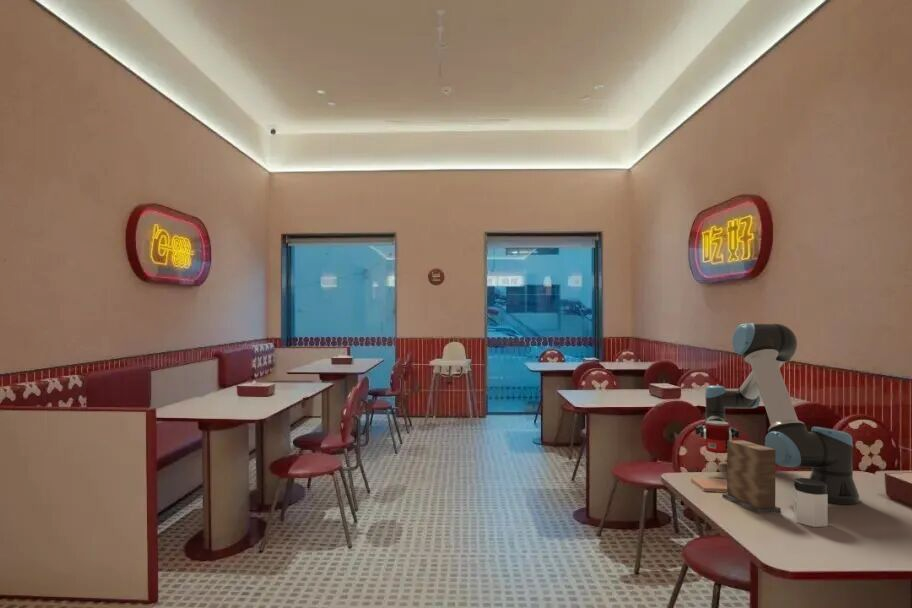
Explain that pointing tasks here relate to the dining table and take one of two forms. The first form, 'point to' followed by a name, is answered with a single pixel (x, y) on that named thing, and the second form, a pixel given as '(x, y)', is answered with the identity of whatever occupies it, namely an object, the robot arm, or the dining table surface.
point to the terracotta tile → (710, 484)
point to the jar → (810, 502)
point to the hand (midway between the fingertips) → (717, 436)
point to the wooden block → (751, 476)
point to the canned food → (717, 436)
